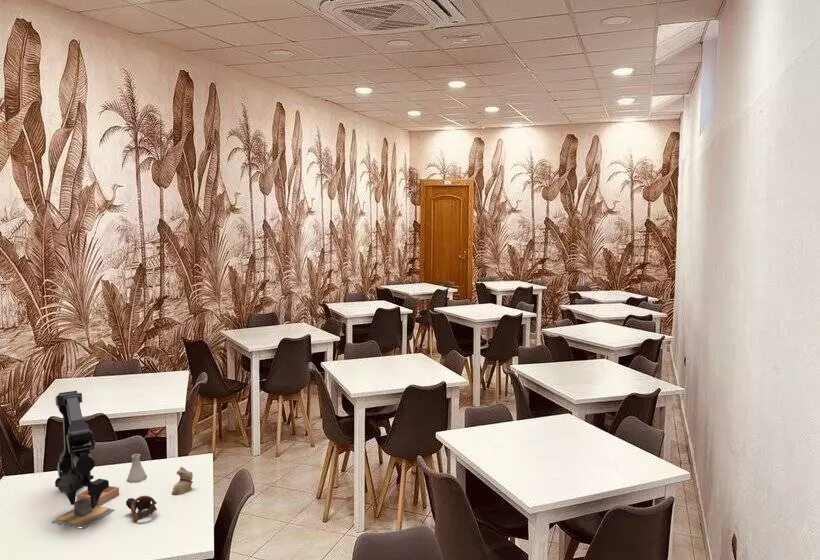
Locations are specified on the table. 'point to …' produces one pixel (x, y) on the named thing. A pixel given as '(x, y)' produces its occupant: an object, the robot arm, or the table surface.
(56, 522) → the slate mat
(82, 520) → the wooden lid
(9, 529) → the table surface
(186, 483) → the chocolate bunny
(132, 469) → the flask
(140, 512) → the brown curved piece
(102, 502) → the terracotta dish
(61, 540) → the table surface
